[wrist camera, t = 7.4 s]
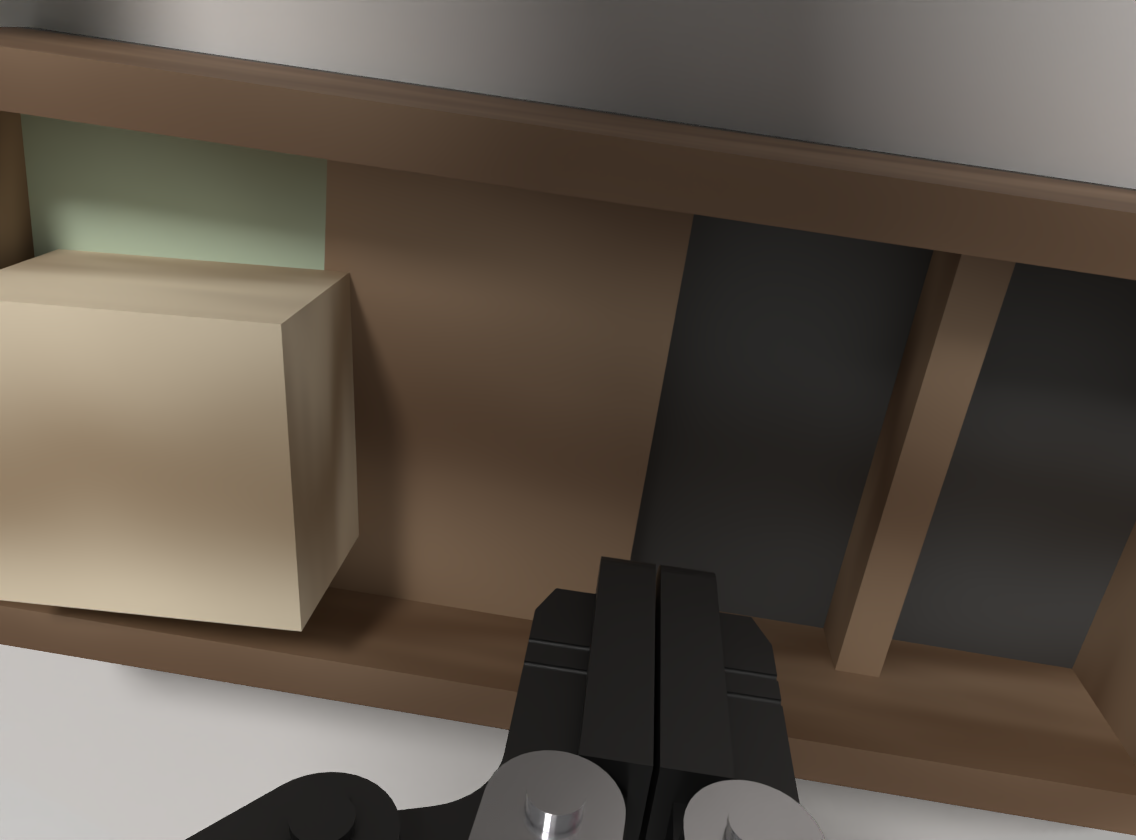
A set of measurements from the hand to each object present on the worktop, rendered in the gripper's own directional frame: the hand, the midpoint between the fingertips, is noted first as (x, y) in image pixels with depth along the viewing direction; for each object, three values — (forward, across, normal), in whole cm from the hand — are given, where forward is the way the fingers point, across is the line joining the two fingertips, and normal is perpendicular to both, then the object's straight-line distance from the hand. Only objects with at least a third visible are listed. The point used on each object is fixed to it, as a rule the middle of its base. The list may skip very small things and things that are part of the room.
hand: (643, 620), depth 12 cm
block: (+7, +9, +1) cm, 12 cm away
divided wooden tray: (+9, +1, +1) cm, 9 cm away
